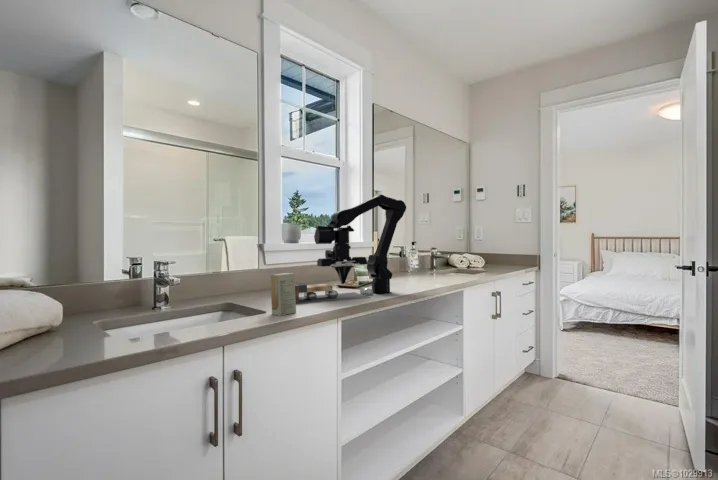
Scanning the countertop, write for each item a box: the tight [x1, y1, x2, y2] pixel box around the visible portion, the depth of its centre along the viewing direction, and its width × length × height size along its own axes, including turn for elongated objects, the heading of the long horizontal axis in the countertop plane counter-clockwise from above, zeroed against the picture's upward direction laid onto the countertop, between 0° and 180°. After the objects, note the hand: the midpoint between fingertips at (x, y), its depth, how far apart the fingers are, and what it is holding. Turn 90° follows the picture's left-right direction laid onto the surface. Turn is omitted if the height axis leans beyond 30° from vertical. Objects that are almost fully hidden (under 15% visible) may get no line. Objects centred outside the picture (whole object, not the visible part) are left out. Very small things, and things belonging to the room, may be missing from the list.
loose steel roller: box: [303, 292, 317, 300], centre depth 138 cm, size 3×6×3 cm, turn 25°
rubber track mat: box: [296, 291, 372, 306], centre depth 141 cm, size 30×16×1 cm, turn 115°
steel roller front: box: [324, 289, 339, 299], centre depth 142 cm, size 3×6×3 cm, turn 25°
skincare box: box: [270, 272, 297, 317], centre depth 114 cm, size 6×4×12 cm
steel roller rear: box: [359, 286, 374, 297], centre depth 148 cm, size 3×6×3 cm, turn 24°
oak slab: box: [306, 283, 334, 293], centre depth 139 cm, size 10×8×2 cm
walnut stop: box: [295, 281, 308, 303], centre depth 136 cm, size 6×10×6 cm, turn 25°
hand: (342, 283), depth 144 cm, fingers closed
